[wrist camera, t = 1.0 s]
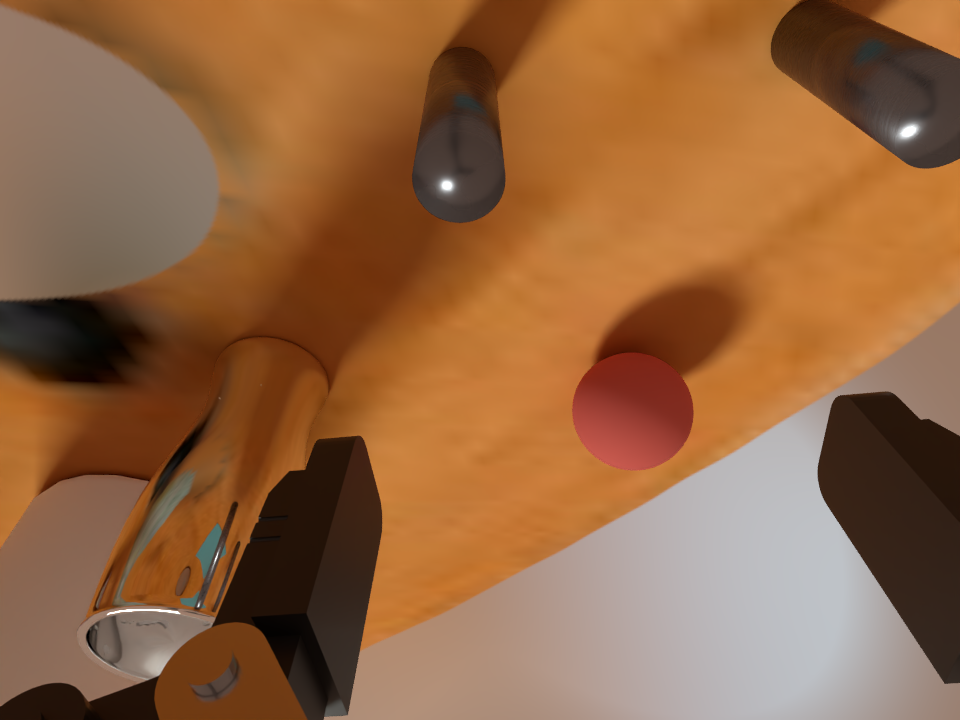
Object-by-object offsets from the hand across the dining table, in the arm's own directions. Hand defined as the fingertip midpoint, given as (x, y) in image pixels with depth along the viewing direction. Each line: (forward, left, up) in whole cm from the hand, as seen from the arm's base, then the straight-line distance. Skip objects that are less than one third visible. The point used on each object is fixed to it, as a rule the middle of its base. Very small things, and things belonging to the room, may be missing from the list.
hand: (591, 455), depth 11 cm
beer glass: (+13, -15, -19) cm, 27 cm away
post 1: (-1, -2, -18) cm, 18 cm away
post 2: (-1, +11, -18) cm, 21 cm away
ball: (+15, +4, -15) cm, 22 cm away
